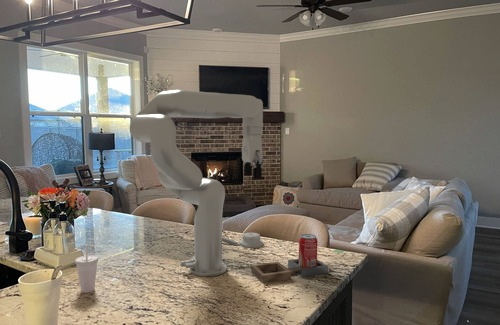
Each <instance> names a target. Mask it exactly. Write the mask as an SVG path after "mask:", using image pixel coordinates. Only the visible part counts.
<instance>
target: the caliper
mask: <svg viewBox="0 0 500 325" xmlns="http://www.w3.org/2000/svg"><path fill="white" fill-rule="evenodd" d="M223 242H224V243H227V244H228V245H232V246H238V247H239V246H241V245H240V244H239V243H238V241H235V240H232V239H230V238H227V237H223V236H222V243H223Z"/></svg>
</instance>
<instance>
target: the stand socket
mask: <svg viewBox="0 0 500 325" xmlns="http://www.w3.org/2000/svg"><path fill="white" fill-rule="evenodd" d="M274 271H275V272H274ZM266 272H269V273H266ZM250 273H251V274H252V275H253V276H254V277H255V278H256V279H257V280H258V281H259V282H260V283H261V284H267V283H274V282H281V281H286V280H287V281H288V280H291V279H292V274H291V271H290V270H288V269H287V266H284V265H283V264H282V263H281V262H279V261H272V262H265V263H264V262H263V263H256V264H251V265H250Z"/></svg>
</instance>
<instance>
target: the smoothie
mask: <svg viewBox="0 0 500 325" xmlns="http://www.w3.org/2000/svg"><path fill="white" fill-rule="evenodd" d="M84 249H85V250H84V251H85V255H82V256H79V257H77V258H76V259H75V260H74V261H75V265H76V269H77V276H78V280H79V285H80V286H79V288H80V292H81V293H85V294H86V293H91V292H94V291H95V289H96V287H95V286H96V278H97V267H98V262H99V256H97V255H89V254H88V244H85V247H84Z"/></svg>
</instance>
